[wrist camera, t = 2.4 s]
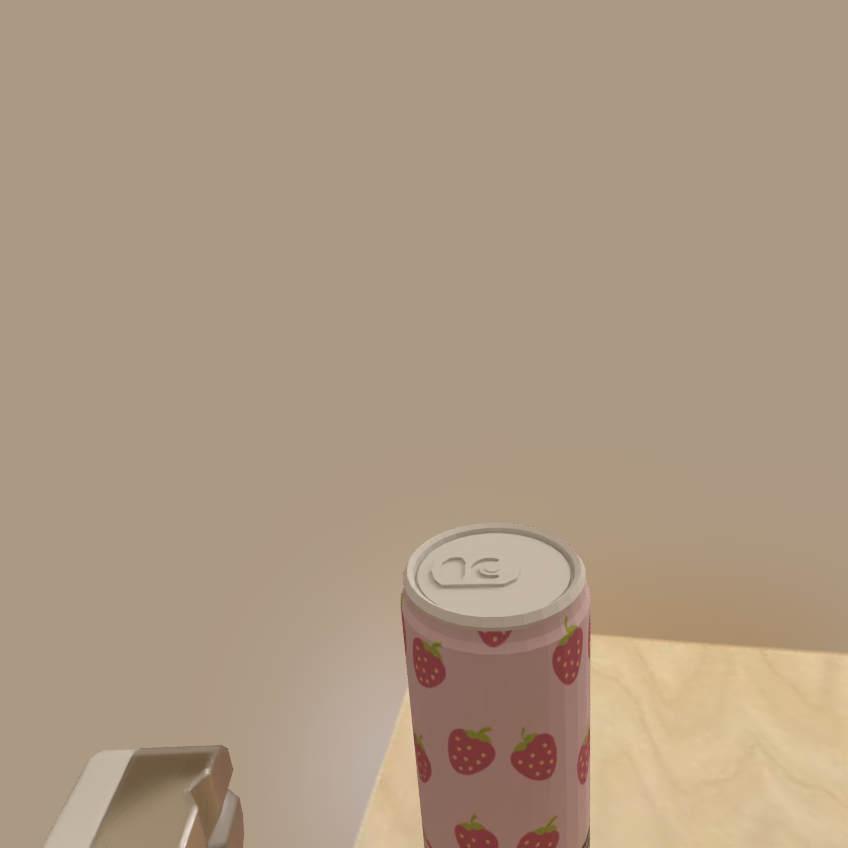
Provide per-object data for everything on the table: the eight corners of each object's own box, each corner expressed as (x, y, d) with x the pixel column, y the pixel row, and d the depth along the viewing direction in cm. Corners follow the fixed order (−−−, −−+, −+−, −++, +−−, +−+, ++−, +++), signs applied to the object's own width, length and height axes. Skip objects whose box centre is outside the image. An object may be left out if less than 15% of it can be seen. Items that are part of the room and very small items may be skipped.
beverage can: (410, 880, 29) (371, 544, 24) (541, 828, 31) (532, 503, 25) (470, 1032, 24) (438, 648, 19) (621, 959, 26) (633, 588, 20)
